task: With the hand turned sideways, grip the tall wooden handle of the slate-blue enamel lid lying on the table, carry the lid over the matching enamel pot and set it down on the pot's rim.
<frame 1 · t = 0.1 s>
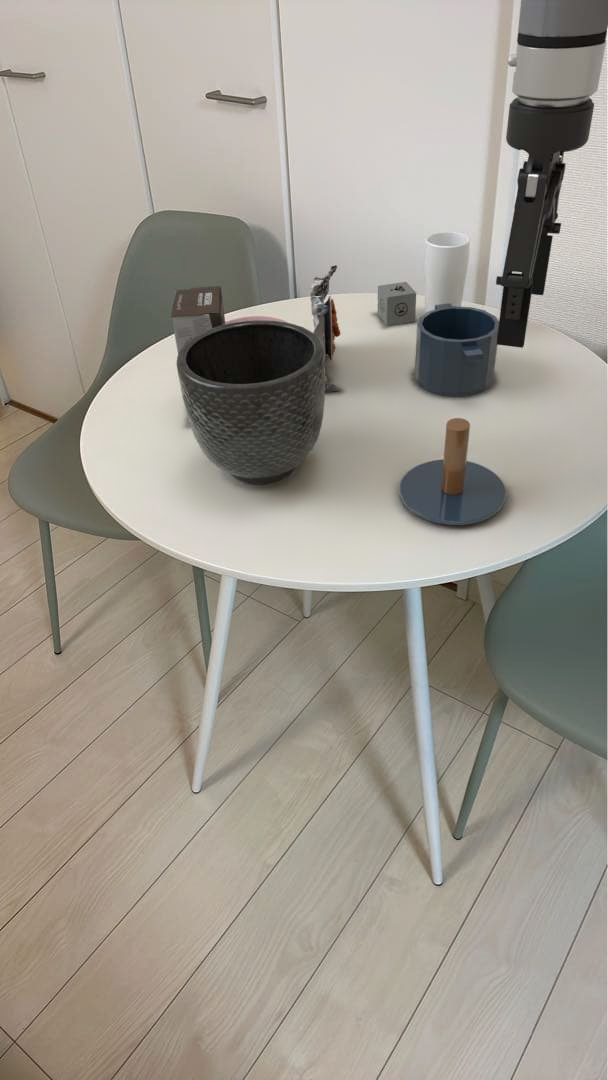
hand: (521, 317, 83), 19 cm above the table, tool pointing down, fingers open, 13 cm apart
meal: (327, 369, 116), on the table
plate: (252, 347, 123), on the table
pot: (453, 377, 112), on the table
drinking glass: (441, 333, 124), on the table
planter: (262, 465, 98), on the table
dice cube: (396, 318, 128), on the table
lid: (451, 492, 90), point 1 cm above the table
coffee box: (212, 408, 109), on the table
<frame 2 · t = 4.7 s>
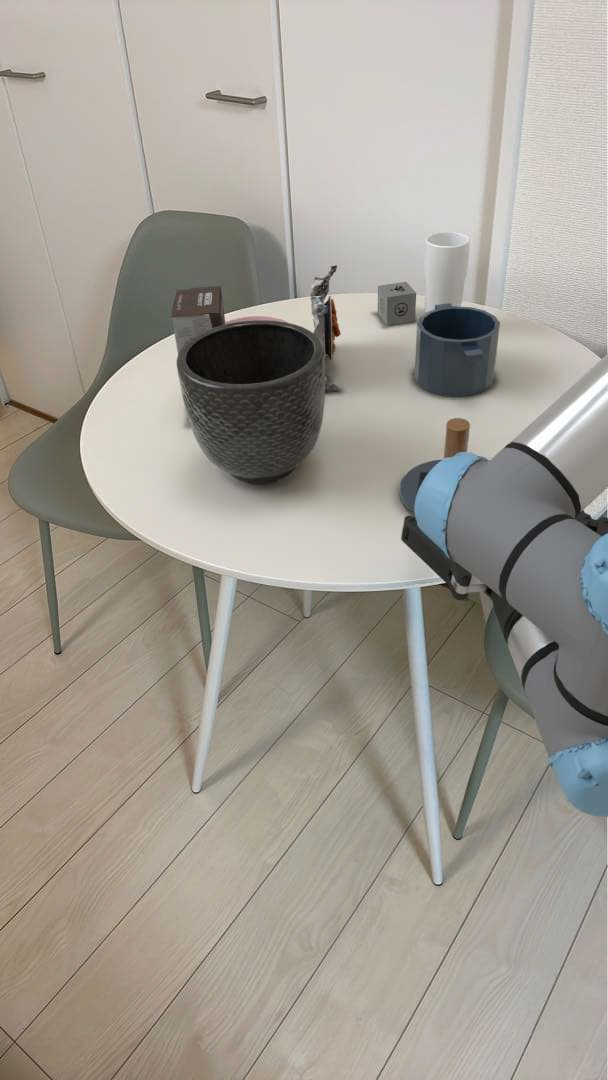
hand: (485, 483, 78), 8 cm above the table, tool horizontal, fingers open, 13 cm apart
nothing on the table moved.
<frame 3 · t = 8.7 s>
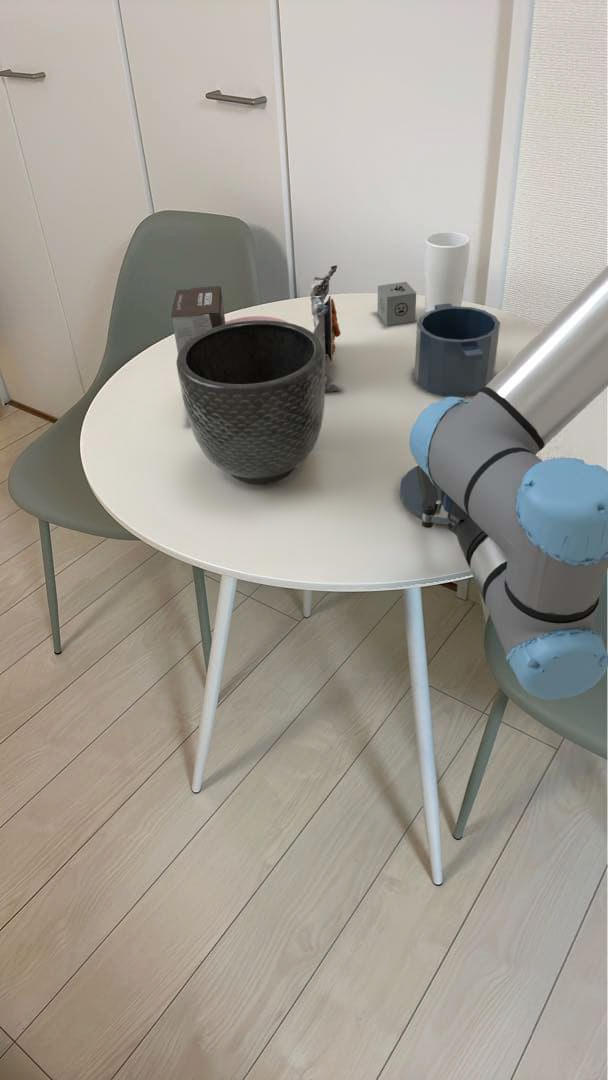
hand: (443, 425, 90), 6 cm above the table, tool horizontal, fingers closed on lid, 3 cm apart
lid: (451, 492, 90), point 1 cm above the table, touching gripper
everything else where it was.
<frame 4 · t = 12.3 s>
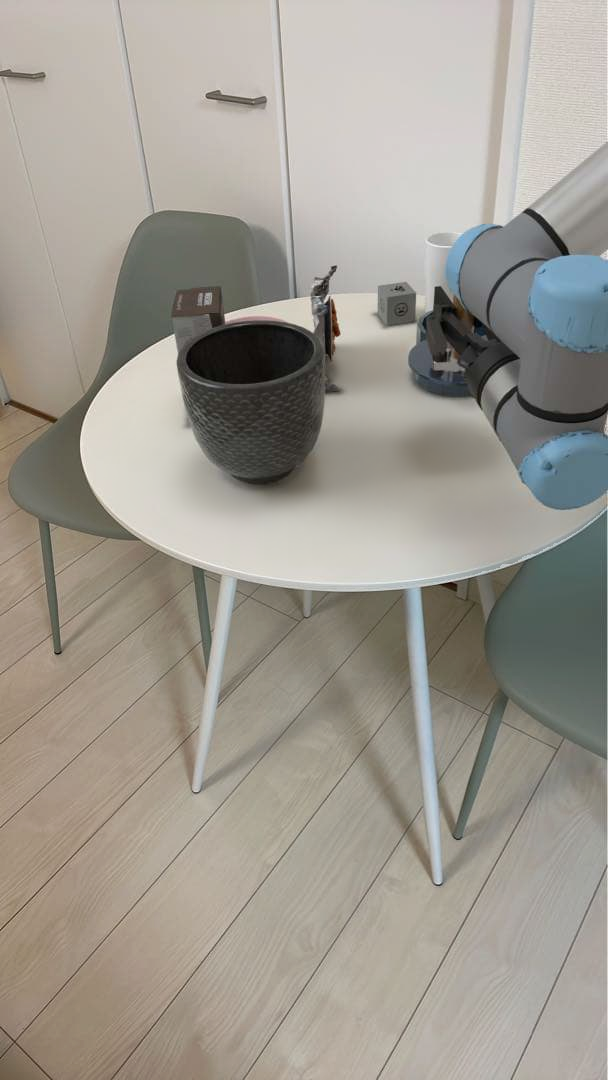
hand: (450, 295, 91), 18 cm above the table, tool horizontal, fingers closed on lid, 3 cm apart
lid: (459, 361, 91), point 12 cm above the table, touching gripper
everything else where it was.
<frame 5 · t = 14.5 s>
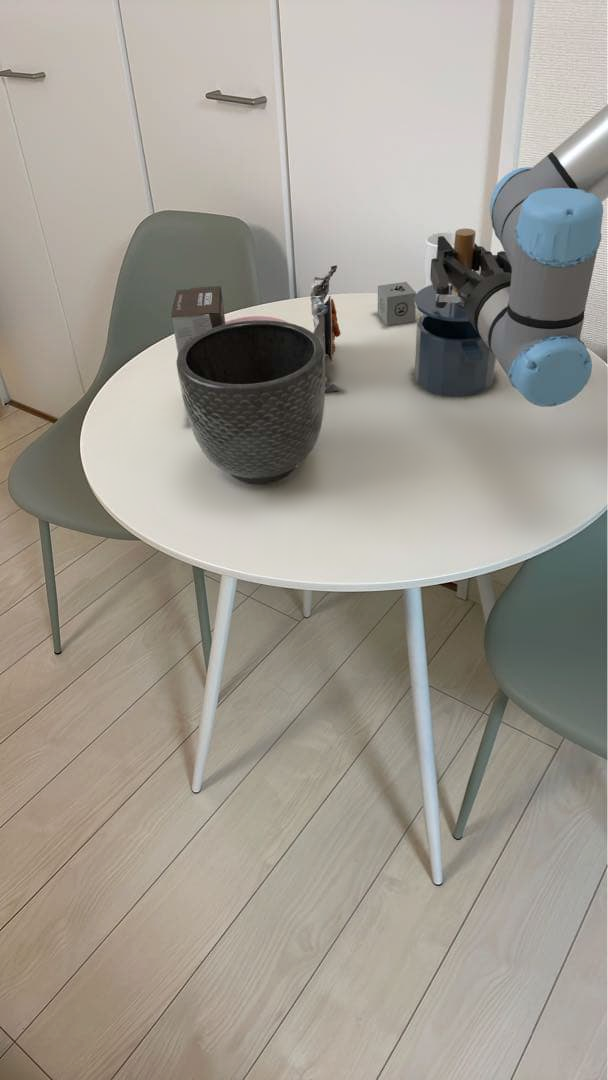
hand: (451, 245, 104), 18 cm above the table, tool horizontal, fingers closed on lid, 3 cm apart
lid: (459, 302, 104), point 12 cm above the table, touching gripper
everything else where it was.
when the fingers open (14 cm above the table, at t = 15.8 s): lid stays where it is, resting on pot.
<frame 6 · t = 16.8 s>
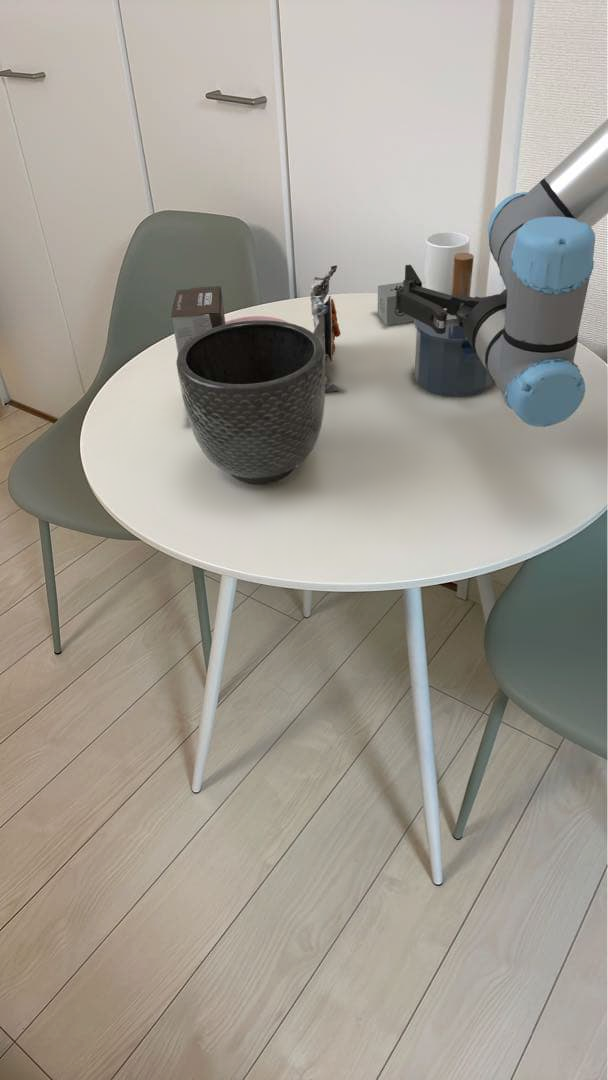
hand: (455, 269, 105), 15 cm above the table, tool horizontal, fingers open, 13 cm apart
lid: (458, 323, 106), point 8 cm above the table, touching pot
everything else where it was.
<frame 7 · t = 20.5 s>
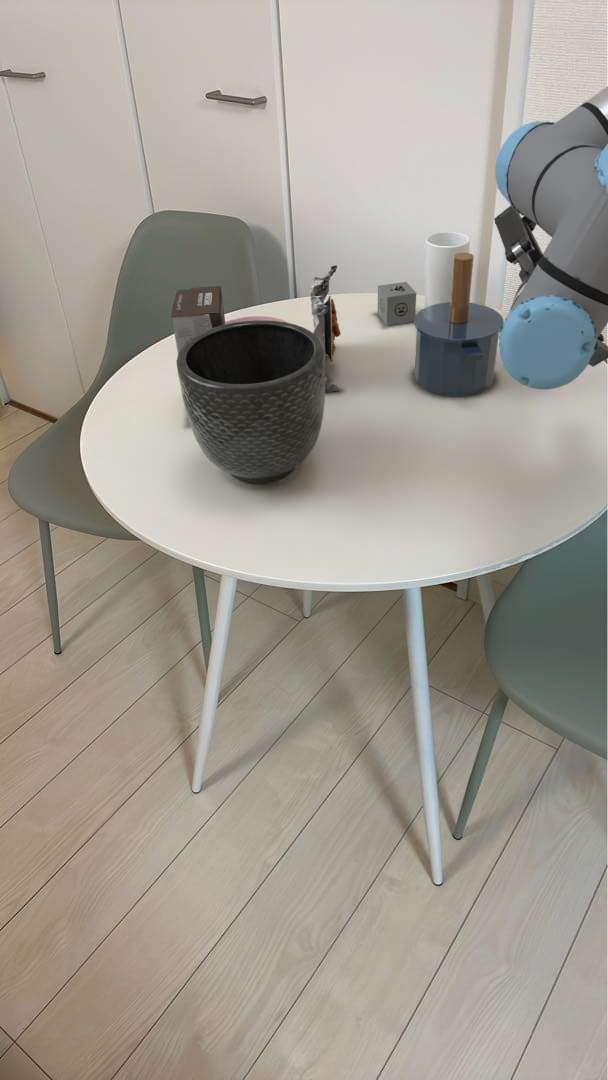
hand: (556, 276, 91), 19 cm above the table, tool horizontal, fingers open, 13 cm apart
nothing on the table moved.
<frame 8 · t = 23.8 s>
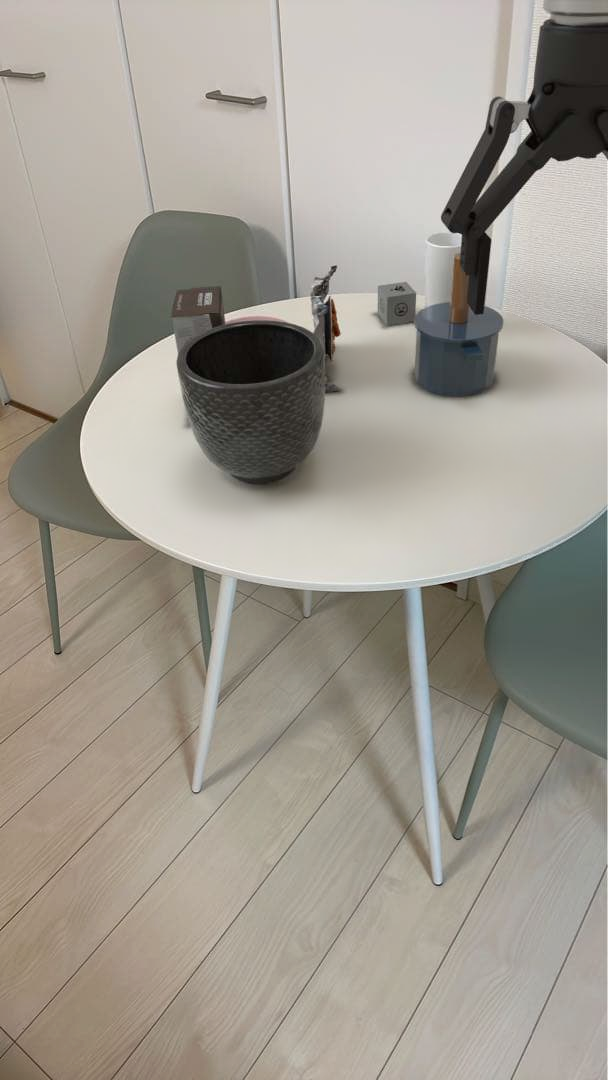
hand: (548, 301, 68), 27 cm above the table, tool pointing down, fingers open, 13 cm apart
nothing on the table moved.
at the end: lid 0.0 cm off-centre on the pot, point 8.5 cm above the pot's base; lid tilted 0°; the gripper is holding nothing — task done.
